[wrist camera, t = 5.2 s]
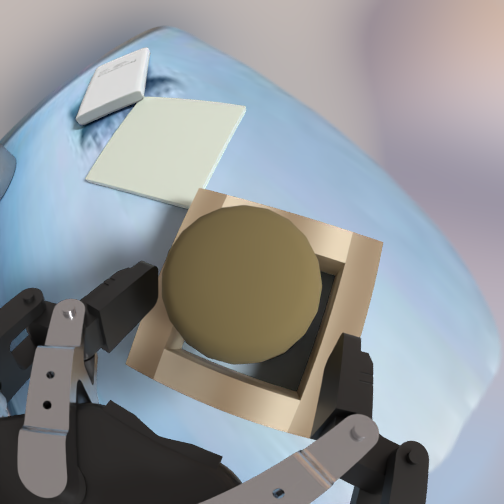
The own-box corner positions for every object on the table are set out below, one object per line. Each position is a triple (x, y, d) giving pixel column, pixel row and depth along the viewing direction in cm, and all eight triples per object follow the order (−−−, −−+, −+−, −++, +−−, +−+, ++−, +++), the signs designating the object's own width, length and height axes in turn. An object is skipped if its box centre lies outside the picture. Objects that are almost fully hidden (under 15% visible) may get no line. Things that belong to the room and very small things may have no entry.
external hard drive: (81, 127, 25) (99, 75, 30) (145, 100, 25) (151, 54, 30) (74, 118, 24) (95, 67, 28) (139, 89, 24) (147, 45, 28)
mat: (88, 182, 23) (85, 178, 22) (144, 100, 26) (142, 96, 25) (194, 210, 21) (192, 207, 20) (246, 110, 24) (245, 106, 23)
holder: (146, 362, 17) (125, 364, 15) (209, 208, 21) (199, 187, 18) (314, 426, 15) (321, 441, 12) (368, 257, 18) (383, 242, 16)
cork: (198, 338, 18) (103, 324, 7) (234, 256, 19) (188, 156, 9) (284, 374, 17) (297, 417, 6) (318, 287, 18) (368, 212, 8)
